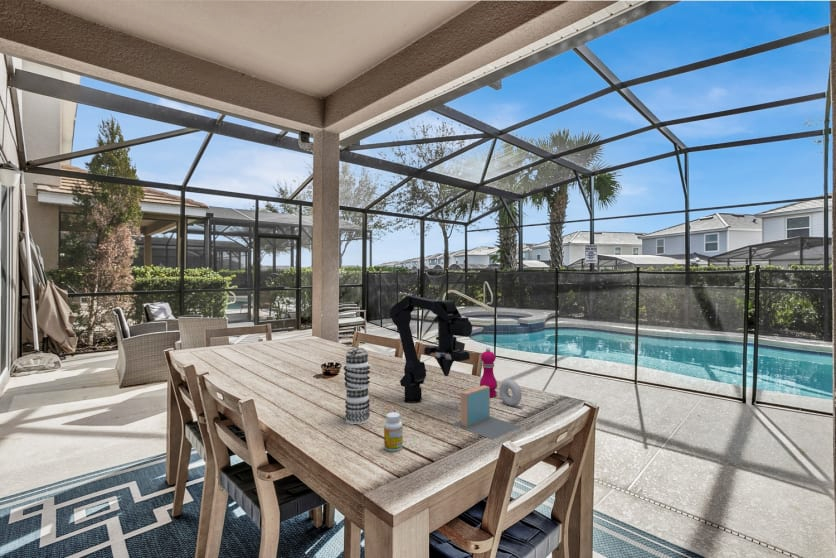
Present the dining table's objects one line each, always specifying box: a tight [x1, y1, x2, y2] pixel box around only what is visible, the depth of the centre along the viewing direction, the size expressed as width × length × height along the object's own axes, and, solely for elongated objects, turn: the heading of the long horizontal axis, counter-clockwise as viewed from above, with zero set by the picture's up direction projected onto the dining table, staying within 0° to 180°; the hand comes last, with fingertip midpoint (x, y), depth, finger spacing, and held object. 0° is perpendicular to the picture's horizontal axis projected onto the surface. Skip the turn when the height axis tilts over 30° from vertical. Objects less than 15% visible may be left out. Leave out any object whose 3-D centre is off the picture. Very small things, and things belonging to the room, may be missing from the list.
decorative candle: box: [343, 347, 371, 425], centre depth 133 cm, size 9×9×25 cm
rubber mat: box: [452, 415, 521, 441], centre depth 126 cm, size 17×15×1 cm
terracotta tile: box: [460, 385, 491, 427], centre depth 129 cm, size 3×12×11 cm, turn 131°
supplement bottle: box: [383, 411, 404, 452], centre depth 111 cm, size 5×5×10 cm
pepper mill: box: [479, 347, 498, 398], centre depth 159 cm, size 7×7×20 cm
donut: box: [499, 378, 523, 407], centre depth 146 cm, size 10×3×10 cm, turn 34°
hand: (446, 376), depth 141 cm, fingers closed
